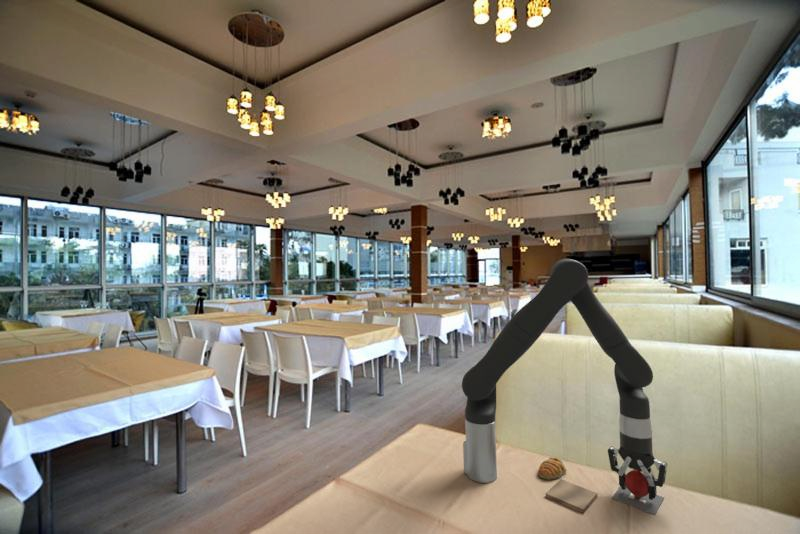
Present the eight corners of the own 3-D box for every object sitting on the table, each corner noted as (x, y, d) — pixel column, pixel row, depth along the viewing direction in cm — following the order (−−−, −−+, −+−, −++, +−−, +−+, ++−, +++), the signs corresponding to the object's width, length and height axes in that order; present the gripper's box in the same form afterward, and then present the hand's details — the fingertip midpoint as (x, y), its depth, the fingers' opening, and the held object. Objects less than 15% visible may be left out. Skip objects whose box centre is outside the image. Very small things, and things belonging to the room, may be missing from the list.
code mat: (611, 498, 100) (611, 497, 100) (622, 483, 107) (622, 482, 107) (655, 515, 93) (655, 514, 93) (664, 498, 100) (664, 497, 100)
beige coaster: (545, 496, 101) (545, 493, 102) (560, 482, 108) (560, 479, 108) (583, 513, 94) (583, 509, 94) (597, 496, 101) (597, 493, 101)
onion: (646, 493, 102) (645, 464, 102) (653, 505, 96) (652, 474, 97) (623, 489, 104) (622, 461, 104) (628, 501, 98) (627, 471, 98)
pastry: (553, 485, 108) (553, 471, 108) (532, 476, 113) (532, 463, 113) (568, 473, 114) (567, 460, 114) (547, 465, 119) (546, 453, 119)
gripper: (602, 427, 103) (604, 488, 103) (663, 444, 93) (666, 511, 92) (610, 420, 108) (612, 477, 108) (670, 434, 98) (672, 498, 97)
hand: (637, 493), depth 100 cm, fingers closed on onion, 6 cm apart
